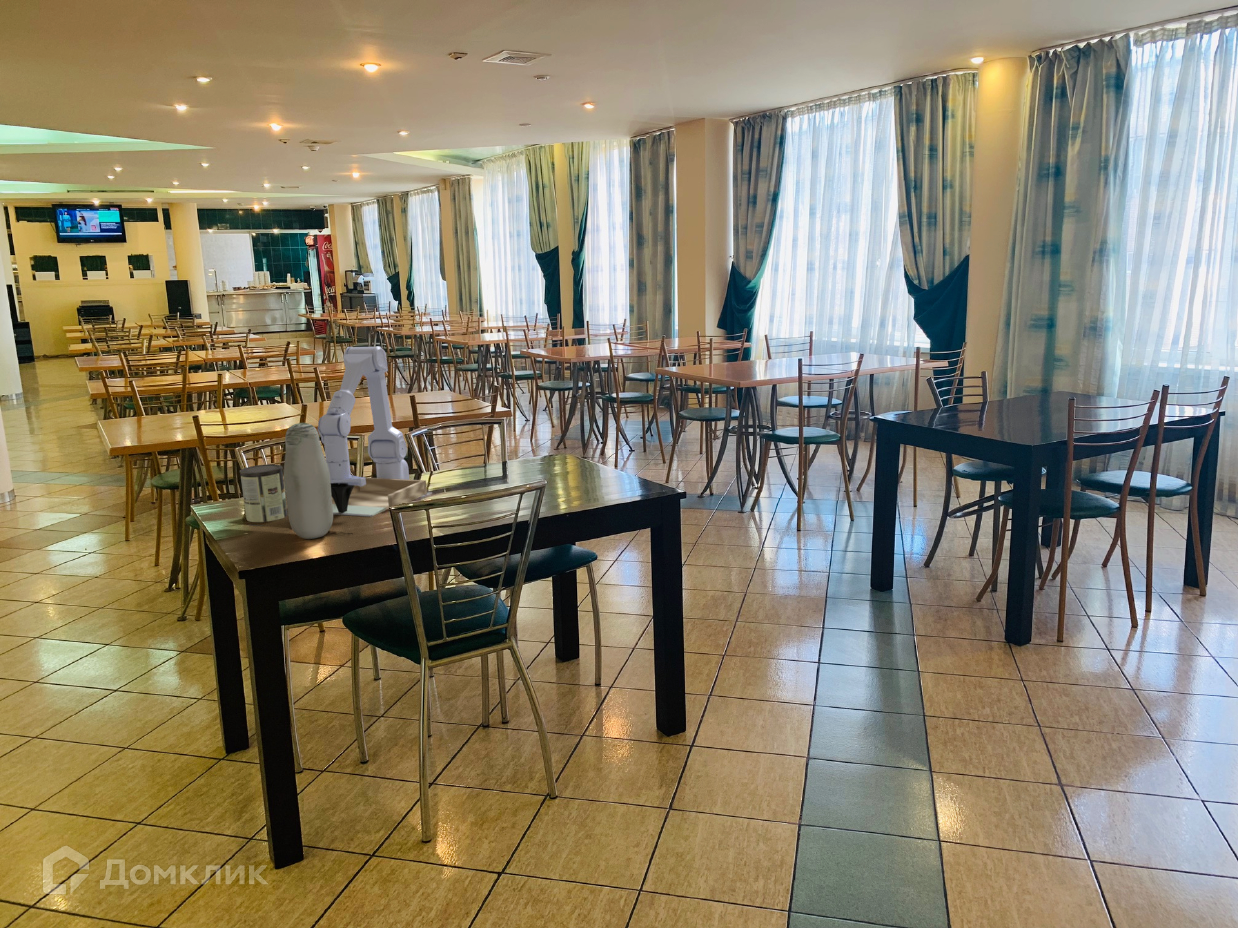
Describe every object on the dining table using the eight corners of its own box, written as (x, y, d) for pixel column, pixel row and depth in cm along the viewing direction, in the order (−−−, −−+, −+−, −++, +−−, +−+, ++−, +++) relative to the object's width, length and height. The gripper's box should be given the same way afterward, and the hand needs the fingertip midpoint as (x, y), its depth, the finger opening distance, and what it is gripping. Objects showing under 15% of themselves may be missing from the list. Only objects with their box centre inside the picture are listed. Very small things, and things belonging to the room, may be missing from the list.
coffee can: (263, 515, 238) (256, 463, 235) (296, 516, 235) (290, 464, 232) (237, 525, 228) (230, 472, 225) (271, 527, 225) (265, 473, 222)
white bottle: (297, 532, 220) (284, 420, 214) (339, 530, 220) (328, 419, 214) (285, 544, 210) (272, 427, 204) (329, 542, 211) (317, 425, 205)
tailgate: (324, 503, 240) (307, 512, 234) (385, 507, 234) (370, 516, 228) (325, 508, 240) (308, 516, 234) (386, 512, 234) (371, 520, 228)
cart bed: (359, 493, 258) (357, 477, 257) (427, 497, 250) (425, 480, 249) (322, 509, 242) (320, 491, 241) (393, 513, 235) (391, 495, 234)
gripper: (304, 462, 228) (309, 513, 231) (352, 464, 223) (357, 516, 226) (321, 457, 235) (326, 506, 237) (368, 459, 230) (373, 509, 233)
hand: (342, 511), depth 232 cm, fingers closed
